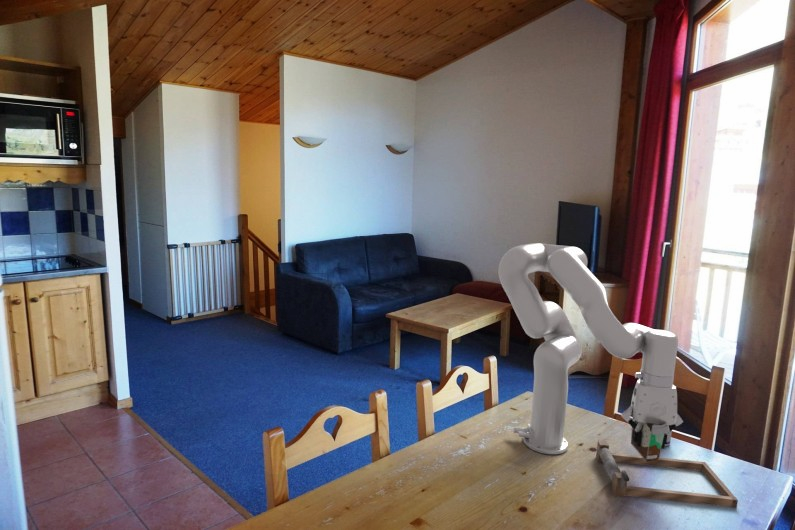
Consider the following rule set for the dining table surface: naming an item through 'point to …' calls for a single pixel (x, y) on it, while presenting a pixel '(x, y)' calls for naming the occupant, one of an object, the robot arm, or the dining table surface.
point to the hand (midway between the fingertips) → (648, 444)
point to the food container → (650, 440)
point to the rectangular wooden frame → (623, 490)
